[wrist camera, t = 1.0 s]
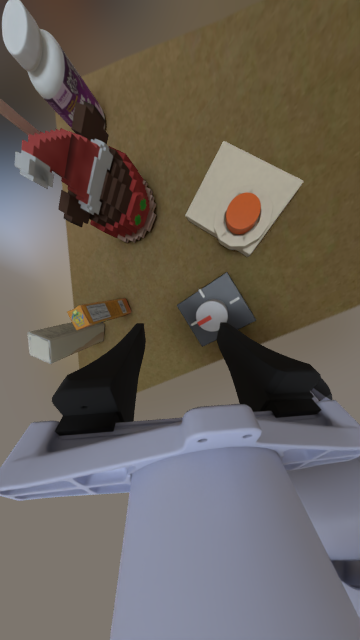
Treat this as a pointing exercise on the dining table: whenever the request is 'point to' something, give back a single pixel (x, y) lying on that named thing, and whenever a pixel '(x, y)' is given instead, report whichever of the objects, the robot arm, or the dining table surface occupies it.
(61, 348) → the box
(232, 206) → the button
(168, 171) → the dining table surface
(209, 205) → the button block
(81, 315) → the supplement box
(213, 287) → the dial panel
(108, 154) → the cake
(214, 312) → the dial
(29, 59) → the pill bottle
